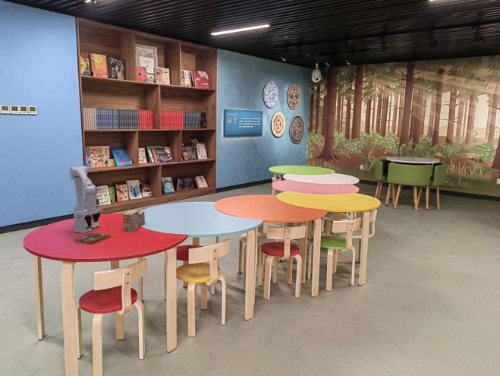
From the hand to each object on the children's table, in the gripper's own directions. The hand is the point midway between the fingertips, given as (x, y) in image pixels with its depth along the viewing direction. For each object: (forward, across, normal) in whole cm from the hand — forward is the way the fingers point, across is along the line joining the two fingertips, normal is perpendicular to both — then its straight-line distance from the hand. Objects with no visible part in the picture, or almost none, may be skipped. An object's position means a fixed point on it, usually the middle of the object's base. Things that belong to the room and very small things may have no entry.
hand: (92, 225), depth 240 cm
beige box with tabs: (+2, 0, 0) cm, 2 cm away
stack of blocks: (+9, +33, -5) cm, 35 cm away
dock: (+9, 0, 0) cm, 9 cm away
